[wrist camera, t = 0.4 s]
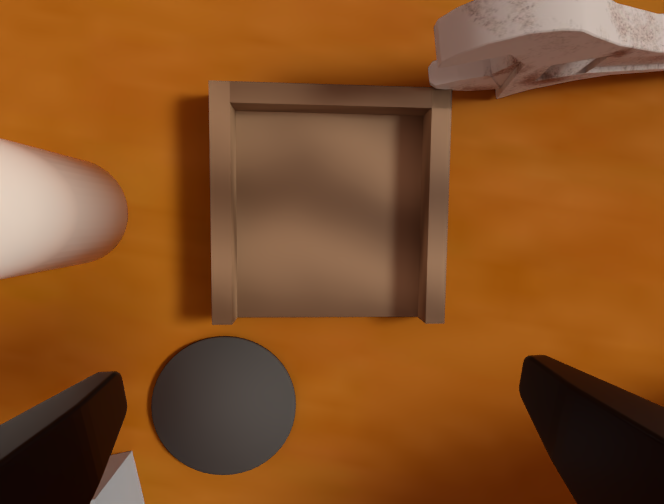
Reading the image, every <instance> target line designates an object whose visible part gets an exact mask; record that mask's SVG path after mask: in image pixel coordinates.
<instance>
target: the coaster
mask: <svg viewBox="0 0 664 504" xmlns="http://www.w3.org/2000/svg"><path fill="white" fill-rule="evenodd" d="M151 408H152V418H153V423H154V426H155V429H156V432H157V434H158V436H159V438H160V440H161V442H162V443H163V444H164V446H165V447H166V449H167V450H168V451H169V452H170V453H171V454H172V455H173V456H174V457H175V458H177V459H178V460H179V461H180V462H182V463H184V464H185V465H187V466H189V467H191V468H193V469H195V470H198V471H201V472H204V473H209V474H216V475H230V474H237V473H242V472H245V471H248V470H251V469H253V468H255V467H257V466H259V465H261V464H263V463H264V462H266V461H267V460H268V459H270V458H271V457H272V456H273V455H274V454H275V453H276V452H277V451H278V450H279V449H280V448H281V446H282V445H283V444H284V442H285V441H286V439H287V437H288V435H289V433H290V431H291V428H292V426H293V421H294V417H295V408H296V401H295V392H294V387H293V384H292V381H291V378H290V376H289V374H288V372H287V370H286V369H285V367H284V366H283V364H282V363H281V362H280V361H279V360H278V358H277V357H276V356H275V355H273V354H272V353H271V352H270V351H269V350H267V349H266V348H264V347H263V346H261V345H259V344H257V343H255V342H253V341H250V340H247V339H243V338H239V337H231V336H219V337H212V338H207V339H204V340H200V341H198V342H195V343H193V344H191V345H189V346H188V347H186V348H184V349H183V350H181V351H180V352H179V353H178V354H176V355H175V356H174V357H173V358H172V359H171V360H170V361H169V363H168V364H167V365H166V366H165V368H164V369H163V370H162V372H161V374H160V376H159V377H158V379H157V382H156V385H155V387H154V391H153V396H152V406H151Z"/></svg>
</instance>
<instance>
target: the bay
mask: <svg viewBox="0 0 664 504" xmlns="http://www.w3.org/2000/svg"><path fill="white" fill-rule="evenodd" d="M451 109H452V89H446V90H445V89H436V88H434V87H402V86H369V85H336V84H304V83H271V82H238V81H209V140H210V212H211V283H212V325H225V324H233V323H234V321H235V320H236V318H237V317H419V318H420V319H421V320H422V321H423V322H424V323H444V318H445V288H446V258H447V228H448V198H449V169H450V139H451Z"/></svg>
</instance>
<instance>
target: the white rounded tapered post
mask: <svg viewBox="0 0 664 504" xmlns="http://www.w3.org/2000/svg"><path fill="white" fill-rule="evenodd" d="M127 220H128V208H127V203H126V199H125V196H124V193H123V191H122V189H121V187H120V186H119V184H118V183H117V181H116V180H115V179H114V178H113V177H112V176H111V175H110V174H109V173H108V172H107V171H105V170H104V169H102V168H101V167H99V166H97V165H95V164H93V163H90V162H88V161H84V160H80V159H76V158H73V157H69V156H65V155H61V154H57V153H54V152H50V151H46V150H42V149H39V148H35V147H31V146H27V145H24V144H20V143H16V142H12V141H8V140H5V139H1V138H0V279H4V278H9V277H14V276H20V275H25V274H30V273H35V272H41V271H46V270H51V269H56V268H62V267H67V266H72V265H77V264H83V263H88V262H92V261H95V260H97V259H100V258H102V257H103V256H105V255H107V254H108V253H109V252H110V251H112V250H113V249H114V248H115V247H116V246H117V244H118V243H119V241H120V240H121V238H122V236H123V234H124V232H125V229H126V225H127Z"/></svg>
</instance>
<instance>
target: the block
mask: <svg viewBox="0 0 664 504" xmlns="http://www.w3.org/2000/svg"><path fill="white" fill-rule="evenodd" d="M90 504H145V503H144V498H143V494H142V490H141V486H140V482H139V478H138V474H137V469H136V465H135V461H134V457H133V453H132V451H129V452H124V453H119V454H114V455H110V458H109V461H108V463H107V466H106V469H105V471H104V474H103V476H102V479H101V481H100V484H99V486H98V488H97V490H96V492H95V494H94V497H93V499H92V501H91V503H90Z"/></svg>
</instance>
